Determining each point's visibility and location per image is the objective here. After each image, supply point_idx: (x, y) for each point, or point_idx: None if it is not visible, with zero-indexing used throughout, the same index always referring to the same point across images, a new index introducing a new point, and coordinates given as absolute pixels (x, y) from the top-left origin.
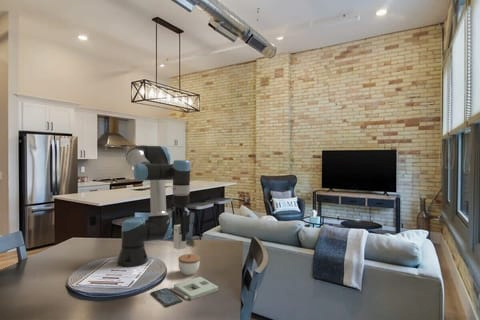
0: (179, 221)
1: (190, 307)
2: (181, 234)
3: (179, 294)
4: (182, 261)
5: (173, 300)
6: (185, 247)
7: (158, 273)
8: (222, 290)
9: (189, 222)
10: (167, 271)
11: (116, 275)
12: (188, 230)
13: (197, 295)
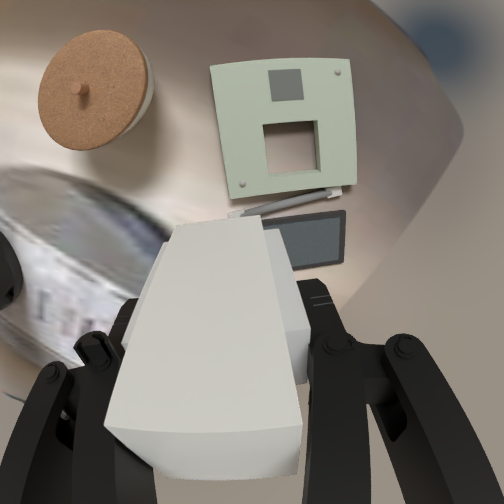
0: (126, 496)
1: (383, 203)
2: (306, 368)
3: (302, 202)
4: (115, 138)
5: (331, 236)
6: (278, 230)
7: (79, 210)
8: (351, 50)
9: (485, 459)
10: (71, 173)
11: (73, 320)
12: (426, 364)
13: (355, 157)
